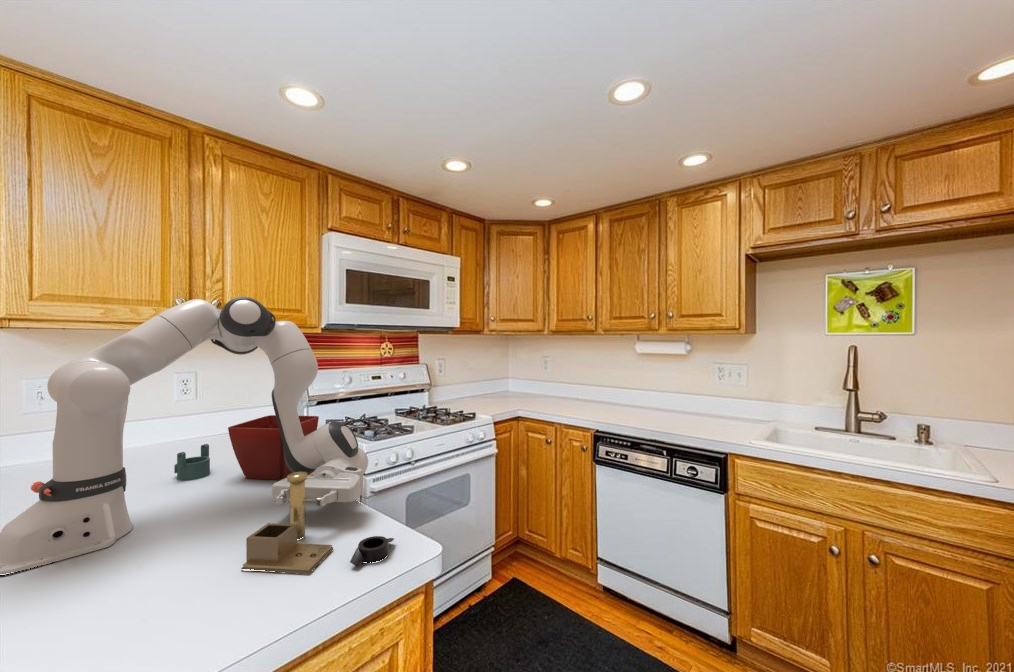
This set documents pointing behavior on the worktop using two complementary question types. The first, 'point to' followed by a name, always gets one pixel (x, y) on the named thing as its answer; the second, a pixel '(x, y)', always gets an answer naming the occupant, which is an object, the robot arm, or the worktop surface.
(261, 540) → the brass socket plate
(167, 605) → the worktop surface
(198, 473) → the bracket
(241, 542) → the worktop surface
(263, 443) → the plant pot
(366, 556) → the black ring with tabs
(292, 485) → the hinge pin
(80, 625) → the worktop surface
